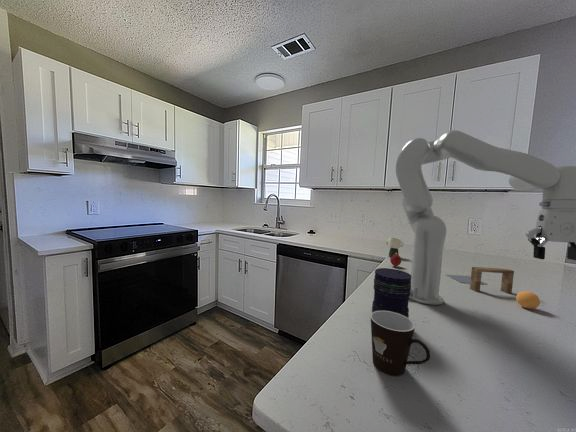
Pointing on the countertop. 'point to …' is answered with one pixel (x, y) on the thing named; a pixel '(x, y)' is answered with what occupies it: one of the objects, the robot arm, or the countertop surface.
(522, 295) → the ball
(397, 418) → the countertop surface
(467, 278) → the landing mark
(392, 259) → the onion
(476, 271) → the bridge
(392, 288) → the storage jar
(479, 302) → the countertop surface
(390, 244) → the character mug
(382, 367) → the coffee mug
